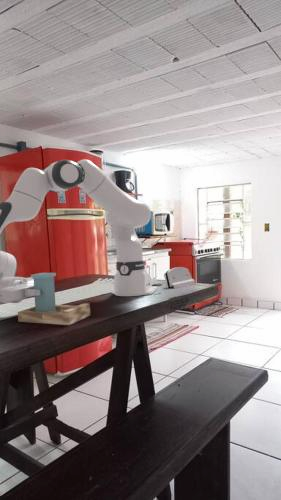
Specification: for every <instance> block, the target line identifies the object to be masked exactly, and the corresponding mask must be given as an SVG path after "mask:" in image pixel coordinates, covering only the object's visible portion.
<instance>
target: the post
mask: <svg viewBox="0 0 281 500" xmlns="http://www.w3.org/2000/svg"><path fill="white" fill-rule="evenodd" d="M56 276H57V272H39V273H35V274H30V277H31V278H33V279H34V289H42V295H39V296H34V307H35V311H36V312H48V311H52V312H56V305H57V304H56V293H55V292H56V291H55V289H56V288H55V277H56Z"/></svg>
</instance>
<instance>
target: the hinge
mask: <svg viewBox="0 0 281 500" xmlns="http://www.w3.org/2000/svg"><path fill="white" fill-rule="evenodd" d="M163 276H164V282H165V285H166V289H168V288H172V287H173V288H174V289H178V288H183V287H188V286H192V285H196V280H195V279H193V277H192V274H191V272H190V271H189V268H187V267H184V266H177V267H173V268H171V269H168V270H167V271H166V272H164V274H163Z"/></svg>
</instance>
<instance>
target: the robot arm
mask: <svg viewBox="0 0 281 500" xmlns="http://www.w3.org/2000/svg"><path fill="white" fill-rule="evenodd" d="M76 187H78V188H80V189H81V190H82V191H83V192H84V193H85V195H87V196H88V197H89V198H90V199H91V200H92V201H93V202H94V204H96V205H97V206H98V207H99V208H101V209H104V210H105V211H106V215H105V220H106V223H107V224H108V226H109V227H110V229H111V232H112V234H113V237H114V243H115V249H116V250H115V251H116V262H115V267H116V268H115V269H116V272H115V274H114V277H113V278H114V279H113V282H114V283H113V290H111V294H113V295H115V296H118V297H137V296H146V295H152V294H153V293H154V292H155V291H156V290H157V289H158V288H157V286H153V285H152V276H151V275H150V274H149V273H148V271H147V270H146V267H145V266H147V261H146V260H143V243H142V241H141V240H140V239H139V237H138V234H137V233H136V229H140V228H143V227H144V226H146V225H148V224H149V222H150V221H151V219H152V211H151V209H150V207H149V205H148V204H147V203H145V202H142V201H139V200H138V199H136V198H134V197H133V196H131V195H130V194H129V193H127V192H125V191H124V190H122V189H121V188H120V187H119V186H117V185H116V183H115V182H114V181H113V180H112V179H111V178H110V177H109V176H108V175H107V174H106V173H105V172H104V171H103V170H102V169H101V168H100V167H99V166H97V165H96V164H94V163H93V162H92V161H91V160H89V159H87V158H85V159H80V160H79V161H77V162H76V161H73V160H70V159H60V160H58V161H55V162H53V163H50V164H49V166H46V167H45V168H44V169H39V168H36V167H28V168H26V169H24V170H23V172H22V173H21V174H20V176H19V178H18V179H17V181H16V183H15V185H14V187H13V188H12V189H13V190H12V192H11V194H10V195H9V197H8V198H7V199H6V200H5V201H4V202H0V235H1V234H2V232H3V230H4V229H5V227H6V226H8V225H9V224H11V223H16V222H27V221H30V220H33V219H35V217H36V216H38V214H39V212H40V210H41V208H42V205H43V203H44V200H45V198H46V195H47V194H48V193H49V192H50V193H62V192H63V193H64V192H67V191H68V190H71V189H74V188H76ZM17 269H18V261H17V258H16V257H15V256H14V255H13V254H11V253H8V252H6V251H3V250H0V302H1V303H2V304H3V303H4V304H6V303H7V304H19V303H21V302H23V300H24V301H25V299H28V298H31V297H35V296H39V295H42V289H34V279H33V278H31V276H26V277H22V276H16V274H17V271H18V270H17Z"/></svg>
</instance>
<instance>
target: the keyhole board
mask: <svg viewBox="0 0 281 500" xmlns="http://www.w3.org/2000/svg"><path fill="white" fill-rule="evenodd" d="M90 304H91V303H90V302H84V303H81V304H78V305H68V304H64V305H63V304H55V305H56V312H52V311H48V312H36V311H35V306H32V307H30V308H26V309H24V310H20V311H17V319H18V320H17V321H18V322H19V323H20V322H21V323H34V324H46V325H48V324H49V325H61V326H62V325H63V326H71V325H72V324H75V323H77V322H78V321H79V322H80V321H82V320H84V319H86V318H88V317H90V316H91V305H90Z"/></svg>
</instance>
